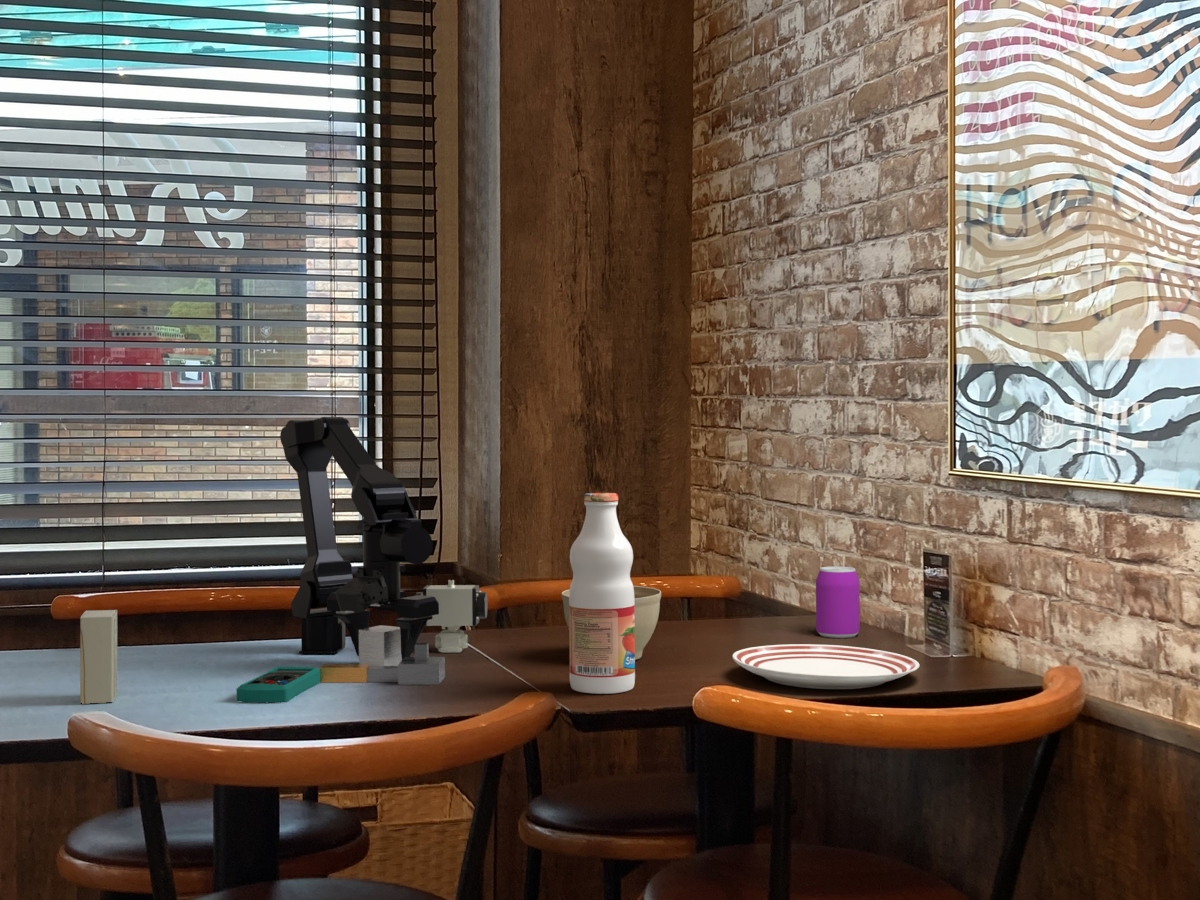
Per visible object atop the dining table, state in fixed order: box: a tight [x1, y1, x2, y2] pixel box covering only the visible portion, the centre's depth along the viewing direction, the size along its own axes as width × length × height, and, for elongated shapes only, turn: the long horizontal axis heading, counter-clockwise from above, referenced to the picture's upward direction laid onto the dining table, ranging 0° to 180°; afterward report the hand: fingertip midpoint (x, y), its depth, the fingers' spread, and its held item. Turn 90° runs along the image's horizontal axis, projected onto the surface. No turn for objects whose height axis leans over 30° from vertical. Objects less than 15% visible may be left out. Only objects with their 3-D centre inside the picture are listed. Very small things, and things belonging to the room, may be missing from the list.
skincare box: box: [79, 609, 118, 705], centre depth 180 cm, size 6×4×12 cm
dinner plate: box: [732, 643, 920, 690], centre depth 192 cm, size 27×27×3 cm
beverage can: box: [815, 565, 861, 639], centre depth 230 cm, size 8×8×12 cm
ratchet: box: [319, 642, 446, 686], centre depth 192 cm, size 18×6×6 cm, turn 89°
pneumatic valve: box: [414, 579, 489, 654], centre depth 217 cm, size 6×12×12 cm, turn 89°
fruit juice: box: [568, 492, 636, 695], centre depth 185 cm, size 9×9×28 cm
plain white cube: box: [358, 624, 402, 666], centre depth 203 cm, size 5×5×6 cm
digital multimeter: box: [235, 666, 321, 704], centre depth 184 cm, size 7×15×3 cm, turn 173°
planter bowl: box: [561, 585, 662, 661], centre depth 209 cm, size 16×16×11 cm
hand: (382, 658), depth 203 cm, fingers open, 9 cm apart
